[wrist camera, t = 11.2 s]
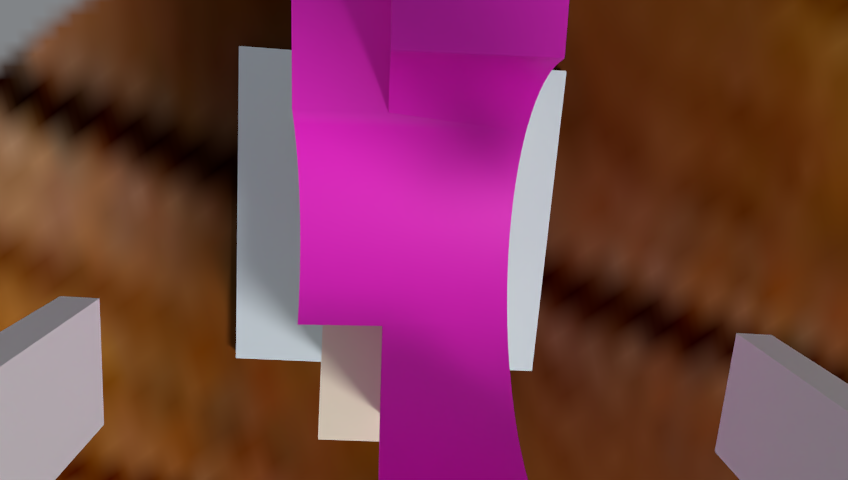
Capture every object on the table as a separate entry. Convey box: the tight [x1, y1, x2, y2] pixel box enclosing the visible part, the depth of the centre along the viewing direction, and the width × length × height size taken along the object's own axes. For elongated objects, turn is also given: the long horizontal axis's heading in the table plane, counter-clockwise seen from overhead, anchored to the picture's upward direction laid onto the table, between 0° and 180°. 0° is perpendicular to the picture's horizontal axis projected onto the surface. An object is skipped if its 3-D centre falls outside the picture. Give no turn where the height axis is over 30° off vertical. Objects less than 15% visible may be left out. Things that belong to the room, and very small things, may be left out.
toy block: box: [291, 0, 569, 480], centre depth 19 cm, size 15×6×8 cm, turn 178°
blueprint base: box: [236, 46, 566, 441], centre depth 26 cm, size 14×14×8 cm
